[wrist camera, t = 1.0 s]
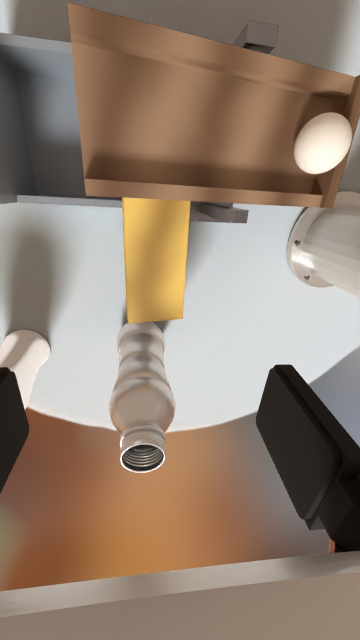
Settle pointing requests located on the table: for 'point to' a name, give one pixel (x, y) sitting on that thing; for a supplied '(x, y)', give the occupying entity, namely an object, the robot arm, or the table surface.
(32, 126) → the cup
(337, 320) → the table surface
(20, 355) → the beer glass
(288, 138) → the lever chute
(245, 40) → the pivot stand
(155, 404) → the plastic bottle
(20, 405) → the robot arm
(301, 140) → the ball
